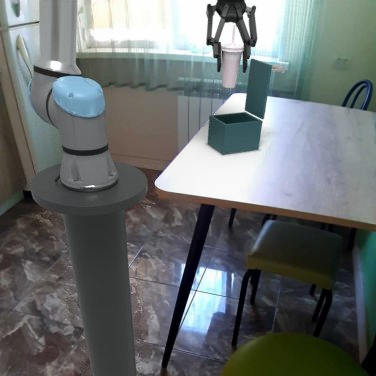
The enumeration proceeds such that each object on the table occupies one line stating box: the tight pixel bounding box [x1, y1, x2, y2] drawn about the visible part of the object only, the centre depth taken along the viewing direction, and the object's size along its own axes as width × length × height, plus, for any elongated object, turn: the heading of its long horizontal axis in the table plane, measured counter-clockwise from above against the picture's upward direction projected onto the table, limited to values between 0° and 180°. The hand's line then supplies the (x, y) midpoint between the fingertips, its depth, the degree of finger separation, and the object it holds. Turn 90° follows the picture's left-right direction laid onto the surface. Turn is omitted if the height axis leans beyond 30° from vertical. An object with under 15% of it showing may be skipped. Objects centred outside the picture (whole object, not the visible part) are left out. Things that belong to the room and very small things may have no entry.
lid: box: [244, 58, 287, 120], centre depth 129 cm, size 14×11×8 cm
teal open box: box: [207, 111, 263, 156], centre depth 134 cm, size 14×11×9 cm
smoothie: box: [221, 24, 244, 89], centre depth 113 cm, size 6×6×14 cm
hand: (232, 69), depth 112 cm, fingers closed on smoothie, 6 cm apart
